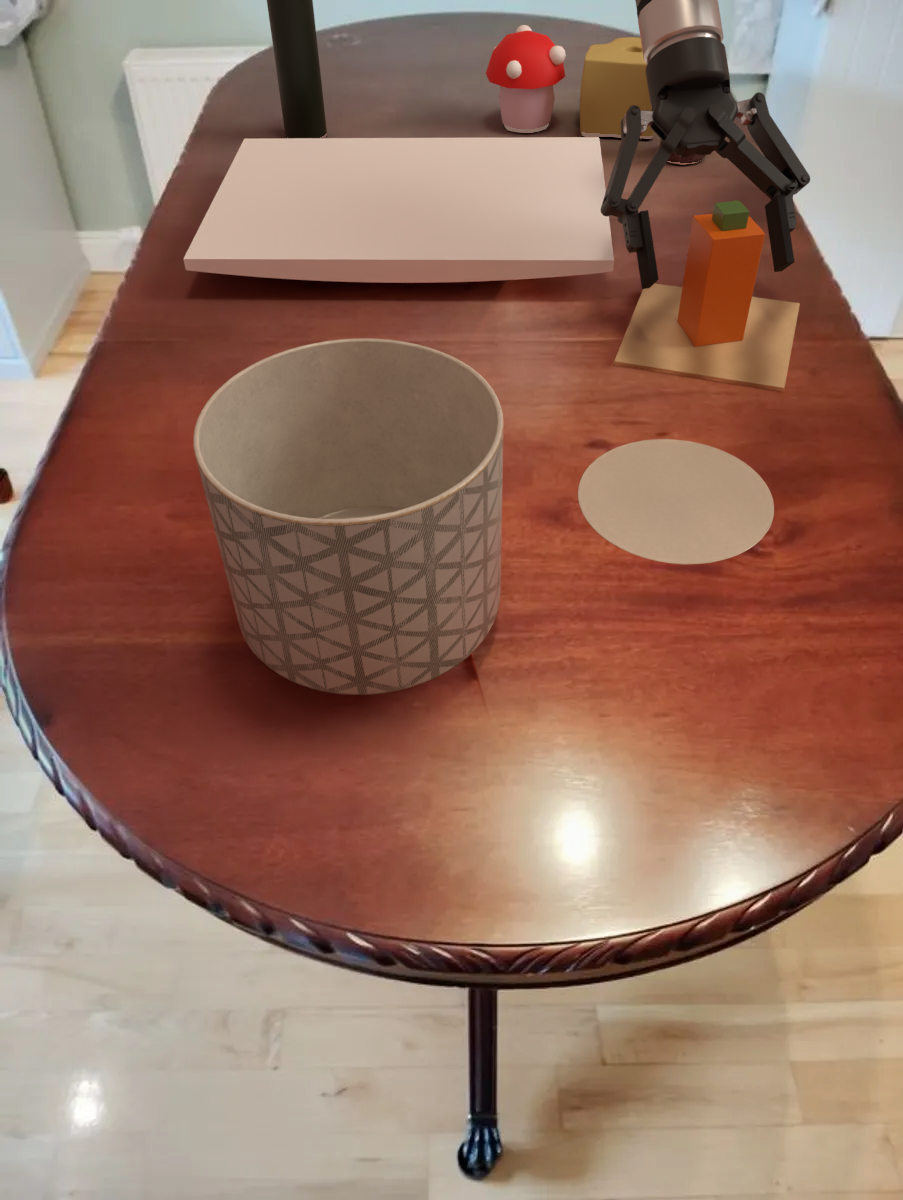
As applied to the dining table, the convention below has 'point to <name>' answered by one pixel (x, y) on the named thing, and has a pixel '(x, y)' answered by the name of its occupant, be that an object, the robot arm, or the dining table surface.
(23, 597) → the dining table surface
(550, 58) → the mushroom
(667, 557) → the plate
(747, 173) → the robot arm
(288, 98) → the wine bottle
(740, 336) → the carrot block
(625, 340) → the coaster
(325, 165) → the board
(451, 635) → the planter
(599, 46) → the cheese
